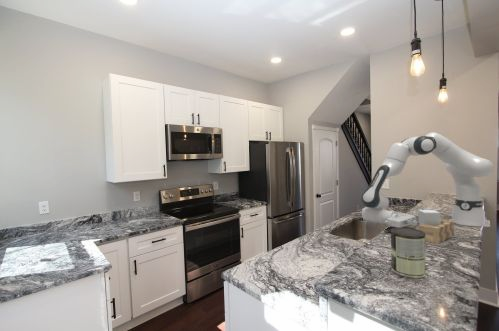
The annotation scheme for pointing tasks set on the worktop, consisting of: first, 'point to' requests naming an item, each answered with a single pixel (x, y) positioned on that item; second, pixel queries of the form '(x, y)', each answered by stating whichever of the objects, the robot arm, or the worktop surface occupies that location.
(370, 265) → the worktop surface
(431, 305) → the worktop surface
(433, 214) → the supplement box
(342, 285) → the worktop surface
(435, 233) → the oak rack
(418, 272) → the coffee can
